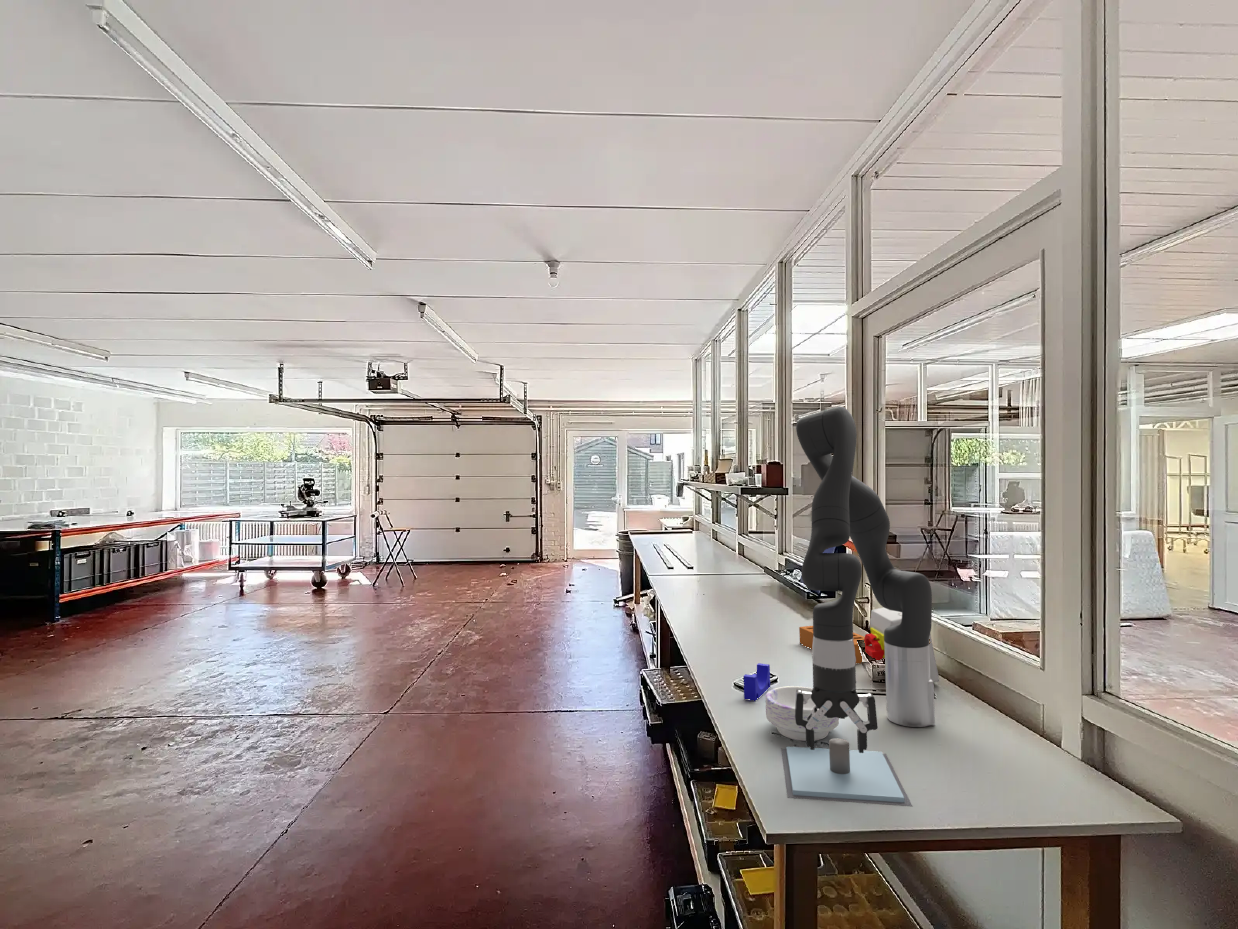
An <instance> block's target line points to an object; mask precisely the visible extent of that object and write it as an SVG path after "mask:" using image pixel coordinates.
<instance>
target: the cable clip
mask: <svg viewBox="0 0 1238 929" xmlns="http://www.w3.org/2000/svg"><path fill="white" fill-rule="evenodd" d="M770 666H771V665H770V664H767V663H760V662H758V663H757V664H756V673H752V674H744V675H743V699H744V700H745V699H750V700H749V701H751V700H754V701H753V702H756V701H755V700H757V698H759V697H760V696H761V695H762V694H763V693H764V692H765V691H766V690H767V689H768V688H769V687H770V688H771V667H770ZM770 688H769V689H770ZM769 689H768V690H769ZM768 690H767V691H768ZM765 693H766V692H765ZM765 693H764V694H765ZM764 694H763V695H764ZM763 695H762V696H763ZM762 696H761V697H762ZM761 697H760V698H761ZM760 698H759V699H760ZM757 701H758V700H757Z"/></svg>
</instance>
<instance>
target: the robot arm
mask: <svg viewBox="0 0 1238 929" xmlns="http://www.w3.org/2000/svg"><path fill="white" fill-rule="evenodd" d="M795 430H796V431H795V432H796V436H797V439H798V442H799V444H800V446H801V448H802V450H803V452H804V454H805V456H806V457H807V459H808V460H809V462H810V463H811V466H812V467H813V469H814V471H815V472H816V473H817V475H818V477H819V479H820V480H821V482H820V483H819V485H818V487H817V489H816V491H815V493H814V496H813V499H812V503H811V533H810V540H809V544H808V547H807V550H806V553H805V556H804V559H803V561H802V566H801V573H800V574H801V580H802V582H803V584H804V585H805V587H806V588H807V589H809V590H812V591H819V592H841V594H840V596H839V597H838V598H837V599H835V600H832V601H828V602H821V603H818V604H816V605H815V606H814V607H813V609H812V626H813V645H812V650H811V651H812V654H811V655H812V685H813V686H812V688H813V690H812V692H804V691H802V690H801V689H797V690H796V702H795V720H796V724H797V725H798V726H803V727H805V729H806V741H805V743H806V746H807V747H809V748H810V750H814V748H815V741H814V728H813V727H814V725H815V724H816V723H817V722H818V721H820V719H821V718H822V717H823V716H826V717H827V718H834V717H837V718H839V720H840V719H844V720H845V718H847V717H848V718H849V719H850V720H851V722H852V723H853V724H854V725H855V726H856V727H857V728H856V734H857V750H858V751H859V753H864V751H867V748H868V732H869V731H877V730H878V719H877V718H878V716H877V707H876V706H877V705H876V699H875V697H874V695H873V693H871V692H869V691H868V692H866V693H865V694H858V692H857V685H856V684H857V681H856V680H857V676H856V675H857V673H856V671H857V670H856V664H855V662H856V657H855V648H854V642H853V632H854V625H853V624H854V607H855V603H856V602H855V600H856V597H857V592H858V590H859V586H860V583H861V580H862V579H861V578H862V576H863V574H862V573H863V569H864V570H865V573H866V576H867V579H868V582H869V585H870V587H871V590H872V593H873V595H874V597H875V599H876V601H877V603H878V604H879V605H880V606H881V608H886V609H889V610H893V611H898V612H902V620H901V624H899V625H895V626H890V627H887V628H886V629H885V630H884V647H885V672H884V674H885V696H886V697H885V699H886V701H885V702H886V717H887V719H888V720H889V721H890V722H892V723H894V724H896V725H899V726H903V727H909V728H910V727H911V728H924V727H928V726H936V716H935V715H936V714H935V713H936V712H935V710H936V709H935V691H934V689H935V687H934V682H933V681H932V680H931V679H930V657H929V636H930V634H931V631H932V623H933V622H932V615H933V614H932V613H933V612H932V611H933V594H932V593H933V592H932V587H931V583H930V581H929V579H928V578H927V576H926V575H924V574H923V573H920V572H914V571H908V570H898V569H896V568H895V566H894V565H893V563H892V561H891V559H890V558H889V554H888V551H887V542H888V539H889V535H890V530H891V522H890V519H889V516H888V513H887V511H886V509H885V507H884V506H885V505H883V503H882V501H881V498H880V496H879V495H878V493H876V491H875V490H874V489H873V488H871V487H870V486H869V485H867V484H866V483H864V482H863V481H861V480H860V479H858V478H856V477H855V476H853V471H854V470H853V469H854V462H855V457H856V450H857V449H856V448H857V437H858V436H857V435H858V434H857V433H858V432H857V427H856V422H855V420H854V417H853V415H852V414H851V412H850V410H848V408H846V407H844V406H834V407H830V408H828V409H824V410H821V411H817V412H815V413H812V414H809V415H806V416H803V417H801V418H799V419H798V420H797V423H796V426H795ZM850 540H851V541H852V544H853V545H854V548H855V549H856V550H855V551H856V552H857V555H858V556H859V558H860V560H859V558H858V557H857V556H856V555H854V554H853V553H849V552H845V553H844V552H843V553H842V552H841V553H840V552H839V553H838V552H825V551H826V550H828V549H831V548H836V547H841V546H843V545H845V544H847V543H848V542H849V541H850ZM861 563H862V564H861ZM862 566H863V567H862ZM809 699H812V701H813V702H814V704H815V705H816V706H815V707H814V708H813V709H812V711H811V713H810V714H809V716H808V717H807V718H804V717H803V704H806V703H807V701H808V700H809ZM859 703H862V705H863V707H864V708H866V713H867V720H865V721H863V720H862V718H861V717H860V716H859V714H858V713H857V712H856V710H855V708H857V705H858V704H859ZM819 714H820V715H819Z"/></svg>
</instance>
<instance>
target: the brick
mask: <svg viewBox="0 0 1238 929" xmlns="http://www.w3.org/2000/svg"><path fill="white" fill-rule="evenodd" d="M798 629H799V633H798V634H799V644H800V643H801V644H803V645H804V646H803V645H802V646H803V647H805V646H806V647H805V648H807V647H809V648H811V649H812V645H813V625H809V626H808V625H805V626H799V627H798ZM864 638H865V635H861V634H858V633H856V632H854V631H853V642H854V648H855V657H856V662H855V665H857V664H856V663H859V664H862V663H861V662H862V656H861V653H860V650H859V646H858V643H857V640H864ZM801 644H800V645H801ZM809 648H808V649H809ZM811 649H810V650H811Z"/></svg>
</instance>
